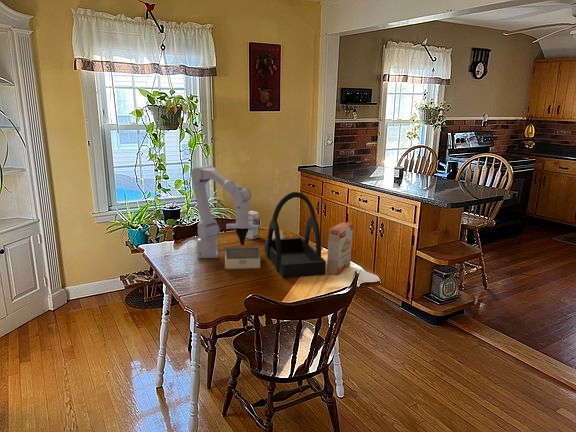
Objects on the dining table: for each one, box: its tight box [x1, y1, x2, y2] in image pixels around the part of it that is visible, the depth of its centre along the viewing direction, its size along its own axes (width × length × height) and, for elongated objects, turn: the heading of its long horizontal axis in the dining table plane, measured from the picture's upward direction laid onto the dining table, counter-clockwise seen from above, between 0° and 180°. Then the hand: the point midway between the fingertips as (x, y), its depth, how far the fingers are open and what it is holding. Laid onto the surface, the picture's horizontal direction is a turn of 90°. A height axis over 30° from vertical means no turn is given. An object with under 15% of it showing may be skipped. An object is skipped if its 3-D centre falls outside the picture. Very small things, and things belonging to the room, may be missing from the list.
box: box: [224, 249, 261, 270], centre depth 204 cm, size 16×14×4 cm
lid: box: [223, 246, 262, 250], centre depth 203 cm, size 17×15×1 cm
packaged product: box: [272, 229, 287, 240], centre depth 236 cm, size 18×5×10 cm
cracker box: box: [326, 221, 354, 276], centre depth 197 cm, size 14×6×21 cm, turn 148°
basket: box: [264, 191, 327, 280], centre depth 202 cm, size 35×21×35 cm, turn 16°
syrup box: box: [245, 210, 260, 240], centre depth 241 cm, size 6×6×14 cm
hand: (242, 244), depth 199 cm, fingers closed
